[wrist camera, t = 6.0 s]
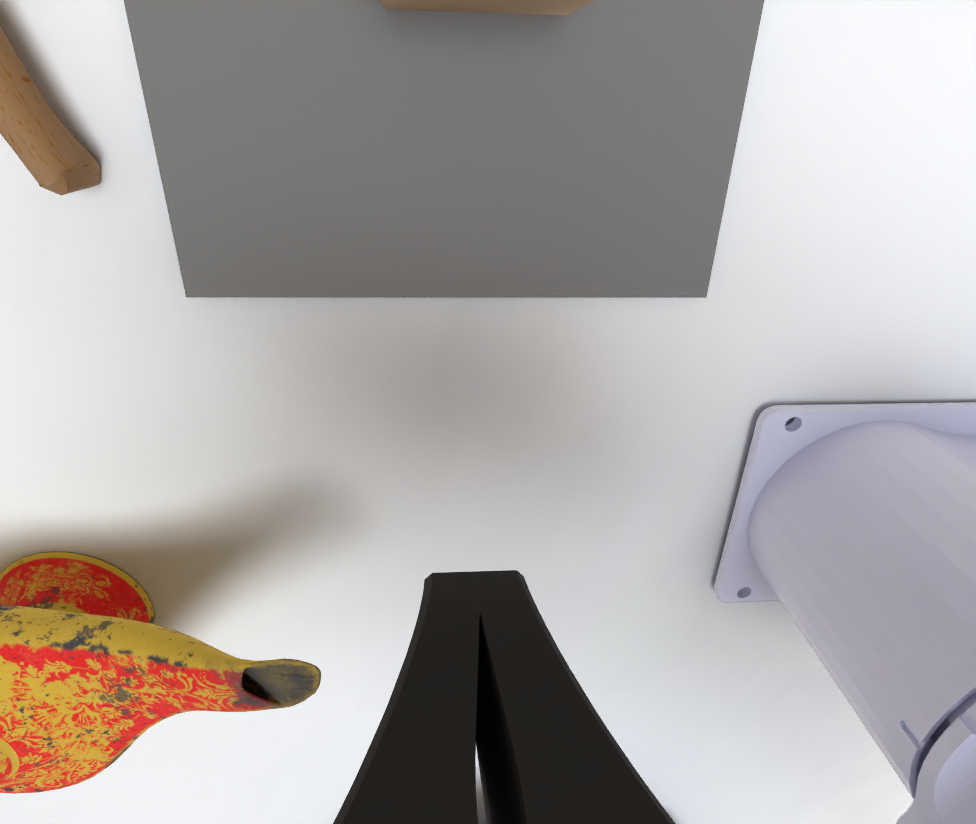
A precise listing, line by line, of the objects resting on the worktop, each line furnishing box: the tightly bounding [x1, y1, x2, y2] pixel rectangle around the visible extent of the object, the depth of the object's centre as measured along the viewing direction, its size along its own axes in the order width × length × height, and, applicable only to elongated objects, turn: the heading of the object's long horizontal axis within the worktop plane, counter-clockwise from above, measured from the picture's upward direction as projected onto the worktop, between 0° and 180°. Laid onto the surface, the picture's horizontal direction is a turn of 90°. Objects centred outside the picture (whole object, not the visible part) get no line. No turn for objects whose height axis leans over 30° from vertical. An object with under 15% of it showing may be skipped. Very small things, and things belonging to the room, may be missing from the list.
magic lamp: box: [0, 552, 321, 793], centre depth 16 cm, size 7×18×11 cm, turn 113°
